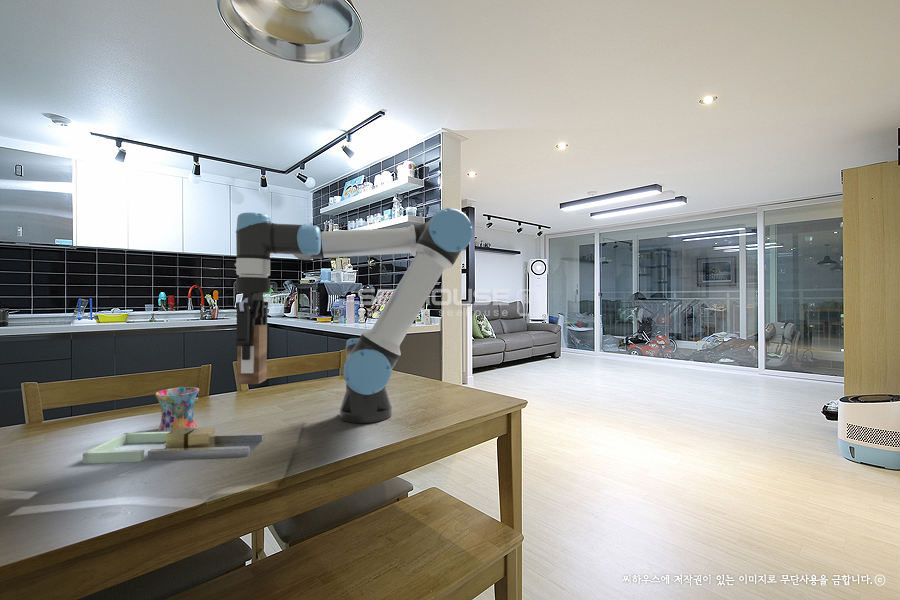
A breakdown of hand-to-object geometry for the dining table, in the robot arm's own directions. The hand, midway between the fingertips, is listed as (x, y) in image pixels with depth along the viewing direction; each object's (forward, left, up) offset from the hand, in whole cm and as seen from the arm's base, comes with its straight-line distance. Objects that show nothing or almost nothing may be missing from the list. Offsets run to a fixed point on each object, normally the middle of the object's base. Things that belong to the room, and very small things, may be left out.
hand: (252, 370), depth 97 cm
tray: (+22, +8, -17) cm, 29 cm away
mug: (+21, -8, -17) cm, 28 cm away
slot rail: (+6, +8, -17) cm, 20 cm away
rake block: (0, 0, -3) cm, 3 cm away
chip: (+12, +8, -16) cm, 21 cm away
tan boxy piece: (+7, +9, -16) cm, 20 cm away
